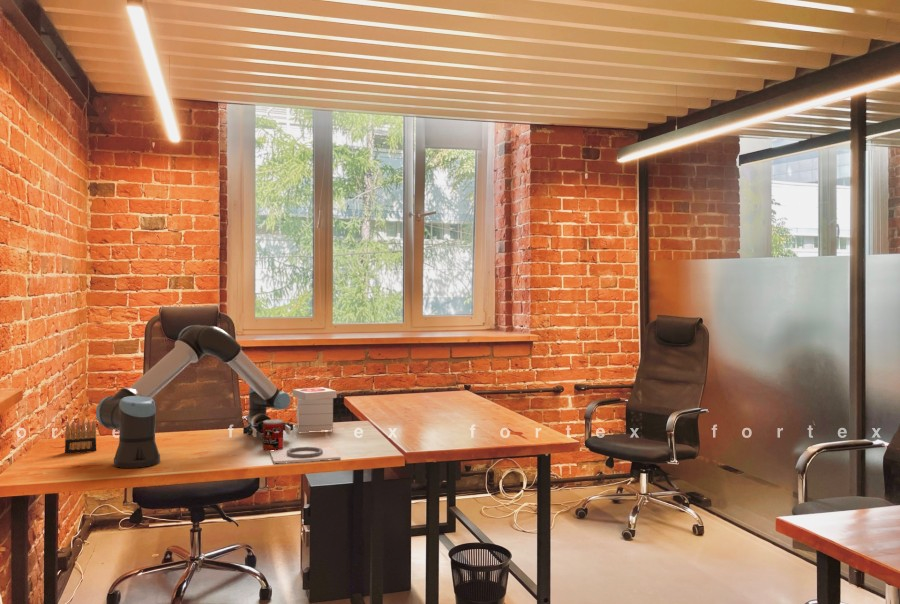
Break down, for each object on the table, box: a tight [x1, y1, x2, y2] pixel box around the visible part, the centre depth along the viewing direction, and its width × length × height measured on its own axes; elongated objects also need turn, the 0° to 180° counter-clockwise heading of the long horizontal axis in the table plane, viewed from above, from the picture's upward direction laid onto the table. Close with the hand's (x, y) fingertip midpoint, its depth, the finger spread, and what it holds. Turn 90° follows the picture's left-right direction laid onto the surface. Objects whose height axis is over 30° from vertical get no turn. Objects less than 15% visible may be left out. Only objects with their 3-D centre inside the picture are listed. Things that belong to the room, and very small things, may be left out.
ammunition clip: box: [64, 419, 97, 454], centre depth 262 cm, size 11×2×12 cm, turn 118°
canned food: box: [262, 418, 284, 451], centre depth 271 cm, size 8×8×11 cm
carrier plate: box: [269, 446, 342, 465], centre depth 258 cm, size 24×18×2 cm
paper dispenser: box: [292, 387, 338, 433], centre depth 317 cm, size 19×30×18 cm, turn 15°
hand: (272, 432), depth 275 cm, fingers open, 13 cm apart
